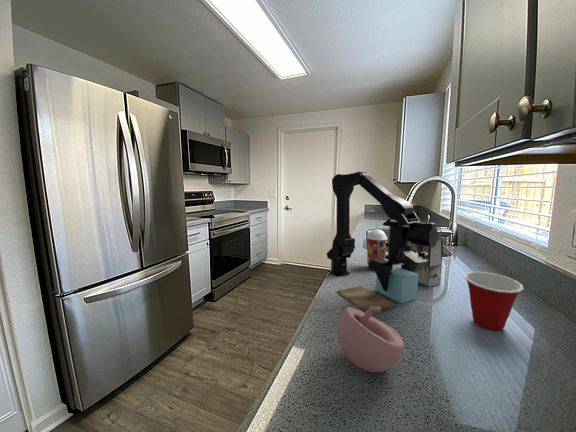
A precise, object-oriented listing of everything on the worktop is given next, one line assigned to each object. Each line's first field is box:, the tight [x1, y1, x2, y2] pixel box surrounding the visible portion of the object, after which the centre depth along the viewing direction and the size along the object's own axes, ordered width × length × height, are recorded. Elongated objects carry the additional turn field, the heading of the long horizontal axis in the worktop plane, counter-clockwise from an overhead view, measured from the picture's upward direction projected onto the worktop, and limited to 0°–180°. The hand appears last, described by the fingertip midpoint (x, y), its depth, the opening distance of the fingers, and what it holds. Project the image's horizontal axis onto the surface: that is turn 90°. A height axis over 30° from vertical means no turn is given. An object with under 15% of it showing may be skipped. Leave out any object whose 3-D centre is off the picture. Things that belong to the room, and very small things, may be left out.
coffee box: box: [409, 239, 444, 287], centre depth 86 cm, size 9×6×16 cm
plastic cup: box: [464, 271, 524, 332], centre depth 58 cm, size 11×11×12 cm
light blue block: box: [375, 266, 419, 304], centre depth 75 cm, size 10×7×8 cm
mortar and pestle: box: [337, 306, 405, 373], centre depth 45 cm, size 12×12×12 cm
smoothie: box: [366, 222, 389, 270], centre depth 100 cm, size 8×8×20 cm
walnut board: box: [336, 285, 397, 313], centre depth 72 cm, size 15×10×1 cm, turn 24°
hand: (395, 288), depth 76 cm, fingers open, 9 cm apart
